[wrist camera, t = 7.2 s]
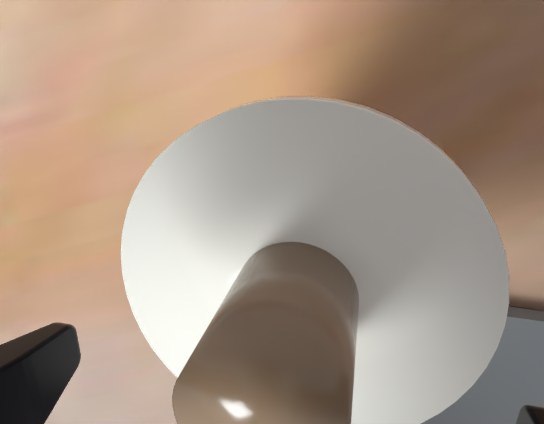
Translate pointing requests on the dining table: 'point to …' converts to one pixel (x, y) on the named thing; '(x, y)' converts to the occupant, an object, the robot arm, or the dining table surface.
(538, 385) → the mat
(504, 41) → the dining table surface
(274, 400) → the lid
